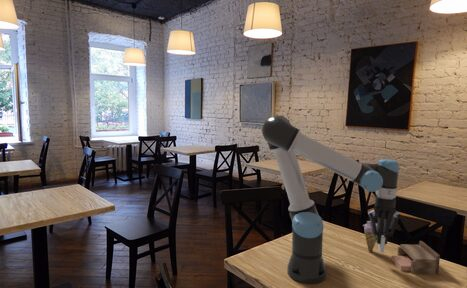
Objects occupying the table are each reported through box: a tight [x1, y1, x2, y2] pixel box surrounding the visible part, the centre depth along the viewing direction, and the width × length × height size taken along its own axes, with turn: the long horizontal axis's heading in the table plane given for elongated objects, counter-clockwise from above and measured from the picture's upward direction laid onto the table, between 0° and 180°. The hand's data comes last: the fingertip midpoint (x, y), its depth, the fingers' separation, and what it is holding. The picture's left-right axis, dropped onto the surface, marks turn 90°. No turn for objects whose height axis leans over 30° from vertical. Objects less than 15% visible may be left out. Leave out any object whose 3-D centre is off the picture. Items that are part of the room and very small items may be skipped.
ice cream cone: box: [362, 220, 377, 253], centre depth 141 cm, size 7×6×15 cm
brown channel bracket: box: [396, 240, 441, 276], centre depth 128 cm, size 10×13×8 cm
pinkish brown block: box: [390, 255, 413, 272], centre depth 128 cm, size 12×9×2 cm
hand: (380, 251), depth 129 cm, fingers closed
